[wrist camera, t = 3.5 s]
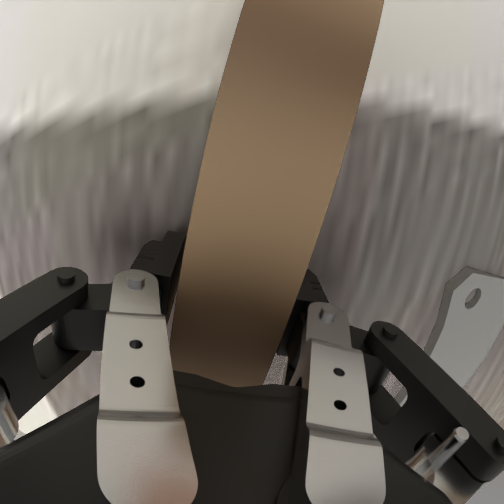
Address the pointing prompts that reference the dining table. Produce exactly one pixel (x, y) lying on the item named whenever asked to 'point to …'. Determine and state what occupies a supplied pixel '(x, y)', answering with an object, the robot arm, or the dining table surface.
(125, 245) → the dining table surface
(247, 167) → the curved tan slat
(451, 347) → the kitchen cleaver
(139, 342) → the robot arm
